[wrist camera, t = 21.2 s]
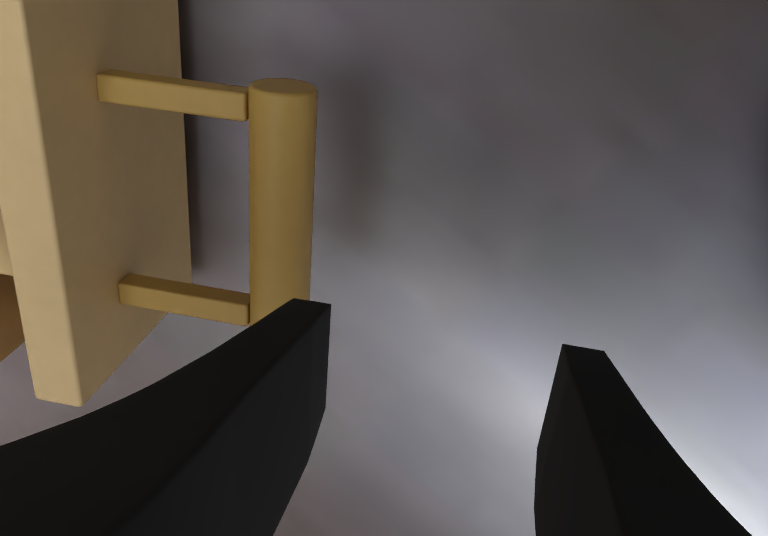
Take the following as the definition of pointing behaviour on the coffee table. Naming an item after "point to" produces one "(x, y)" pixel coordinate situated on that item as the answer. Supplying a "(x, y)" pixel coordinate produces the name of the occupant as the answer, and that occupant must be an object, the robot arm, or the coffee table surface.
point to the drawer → (129, 186)
